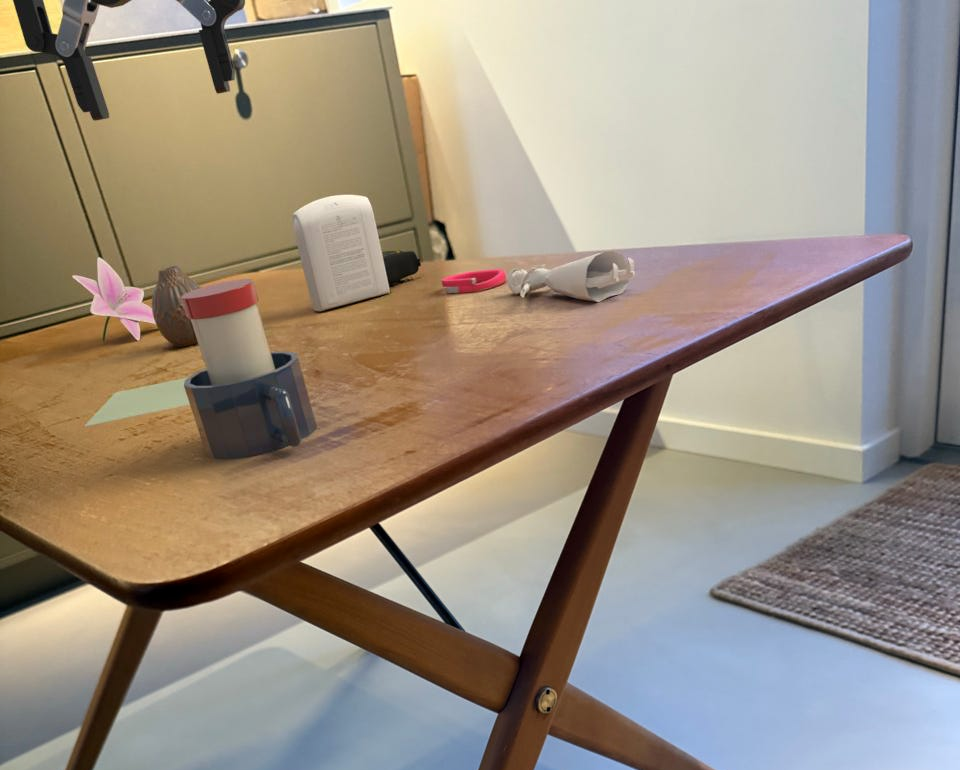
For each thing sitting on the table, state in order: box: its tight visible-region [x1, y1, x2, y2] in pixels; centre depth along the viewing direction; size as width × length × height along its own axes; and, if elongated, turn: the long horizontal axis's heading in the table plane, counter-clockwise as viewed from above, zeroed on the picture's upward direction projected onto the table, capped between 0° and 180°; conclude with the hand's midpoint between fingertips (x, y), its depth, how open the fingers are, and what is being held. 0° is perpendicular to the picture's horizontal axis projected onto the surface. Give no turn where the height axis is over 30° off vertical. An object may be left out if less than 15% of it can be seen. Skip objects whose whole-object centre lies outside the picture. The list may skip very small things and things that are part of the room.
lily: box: [71, 257, 156, 342], centre depth 136 cm, size 12×12×10 cm
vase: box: [151, 265, 202, 348], centre depth 123 cm, size 7×7×9 cm
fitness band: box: [441, 268, 507, 294], centre depth 122 cm, size 8×6×2 cm
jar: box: [181, 278, 275, 386], centre depth 78 cm, size 5×5×12 cm
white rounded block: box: [292, 194, 391, 312], centre depth 126 cm, size 10×4×12 cm, turn 116°
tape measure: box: [382, 249, 422, 286], centre depth 135 cm, size 7×7×4 cm
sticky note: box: [83, 376, 190, 428], centre depth 101 cm, size 14×12×1 cm
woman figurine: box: [506, 249, 636, 303], centre depth 108 cm, size 12×4×18 cm
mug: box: [184, 350, 318, 460], centre depth 79 cm, size 12×9×6 cm
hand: (162, 106), depth 70 cm, fingers open, 8 cm apart
